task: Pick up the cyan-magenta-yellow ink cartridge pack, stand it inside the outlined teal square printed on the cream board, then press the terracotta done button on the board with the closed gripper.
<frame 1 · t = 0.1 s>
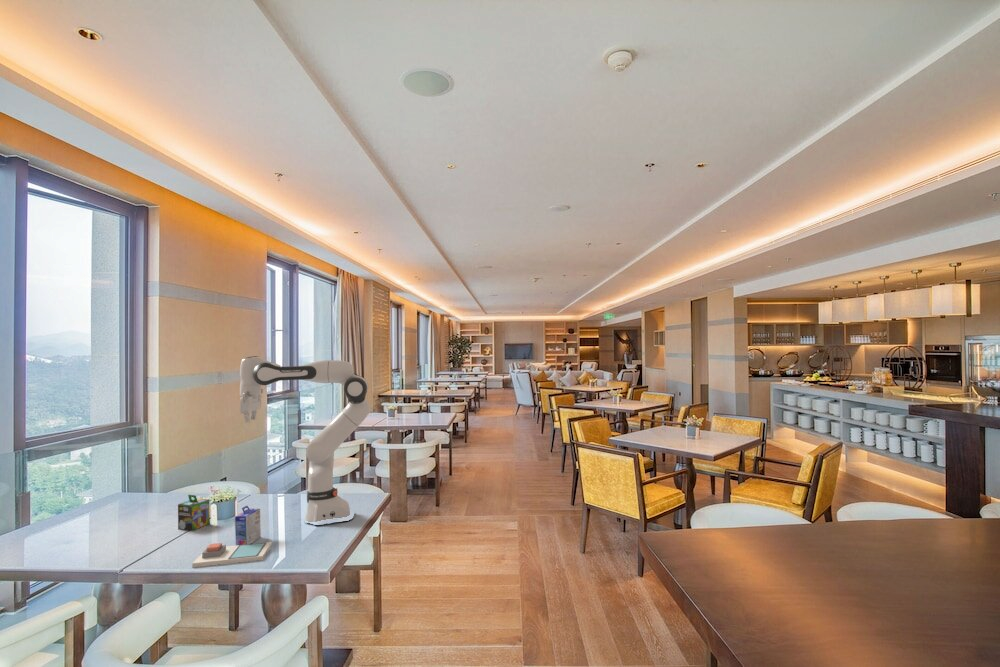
hand: (250, 421, 219), 48 cm above the table, tool pointing down, fingers open, 8 cm apart
done button: (214, 548, 183), point 4 cm above the table, slide at 0.0 cm
picture board: (234, 556, 184), on the table
ink cartridge box: (248, 542, 199), on the table
chalk box: (193, 527, 218), on the table
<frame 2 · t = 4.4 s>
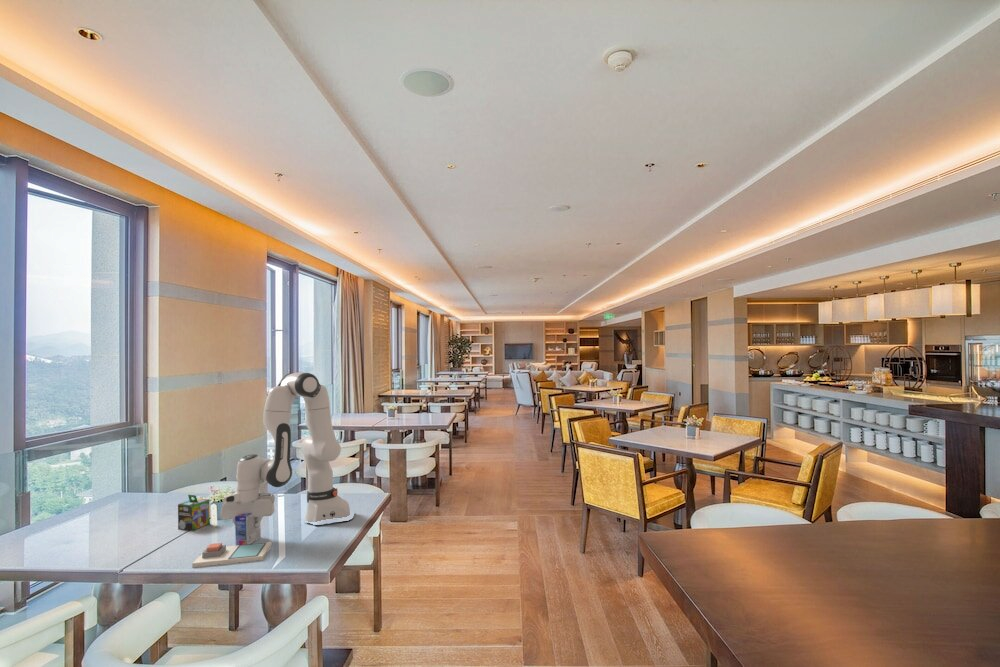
hand: (247, 527, 199), 6 cm above the table, tool pointing down, fingers closed on ink cartridge box, 6 cm apart
ink cartridge box: (248, 542, 199), on the table, touching gripper
everything else where it was.
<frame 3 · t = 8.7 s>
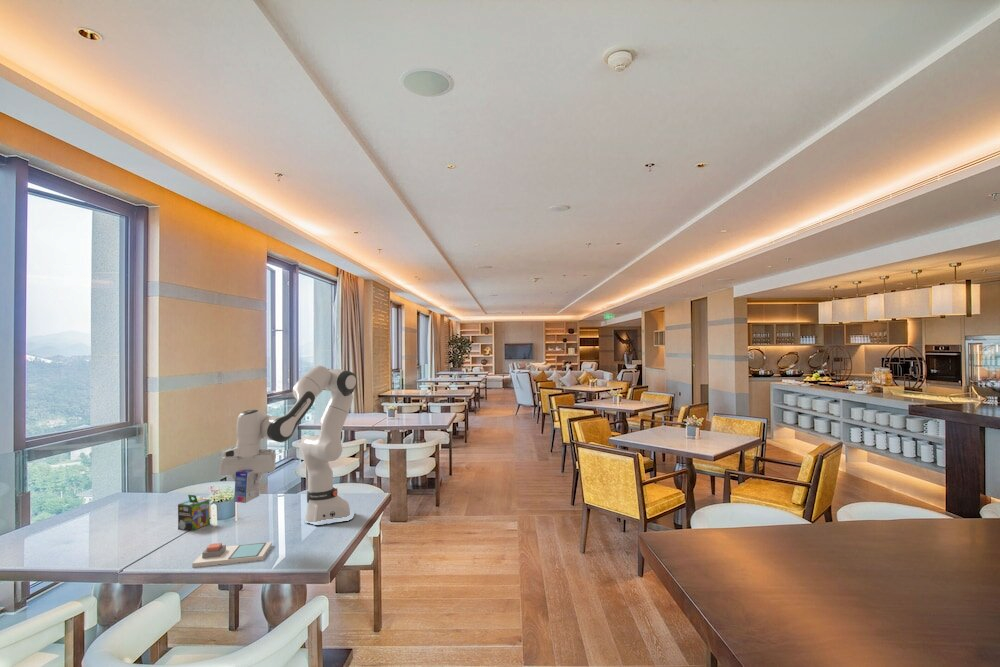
hand: (247, 484, 193), 25 cm above the table, tool pointing down, fingers closed on ink cartridge box, 6 cm apart
ink cartridge box: (246, 499, 193), point 19 cm above the table, touching gripper
everything else where it was.
when the fingers open (8 cm above the table, at t = 13.0 s): ink cartridge box stays where it is, resting on picture board.
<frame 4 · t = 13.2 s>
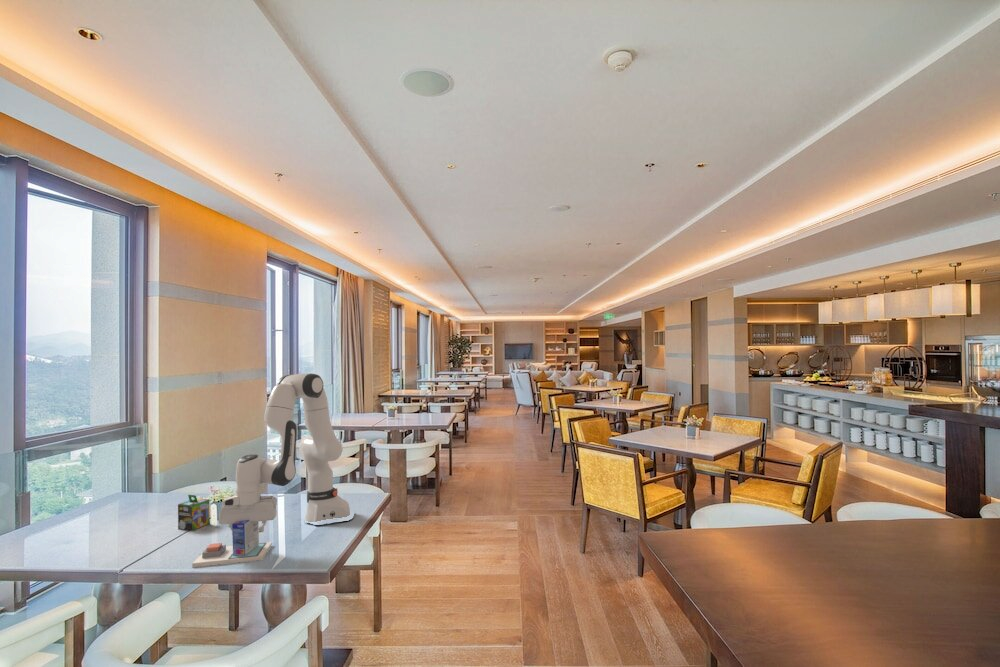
hand: (248, 533, 186), 8 cm above the table, tool pointing down, fingers open, 8 cm apart
ink cartridge box: (245, 550, 186), point 1 cm above the table, touching gripper, picture board
everything else where it was.
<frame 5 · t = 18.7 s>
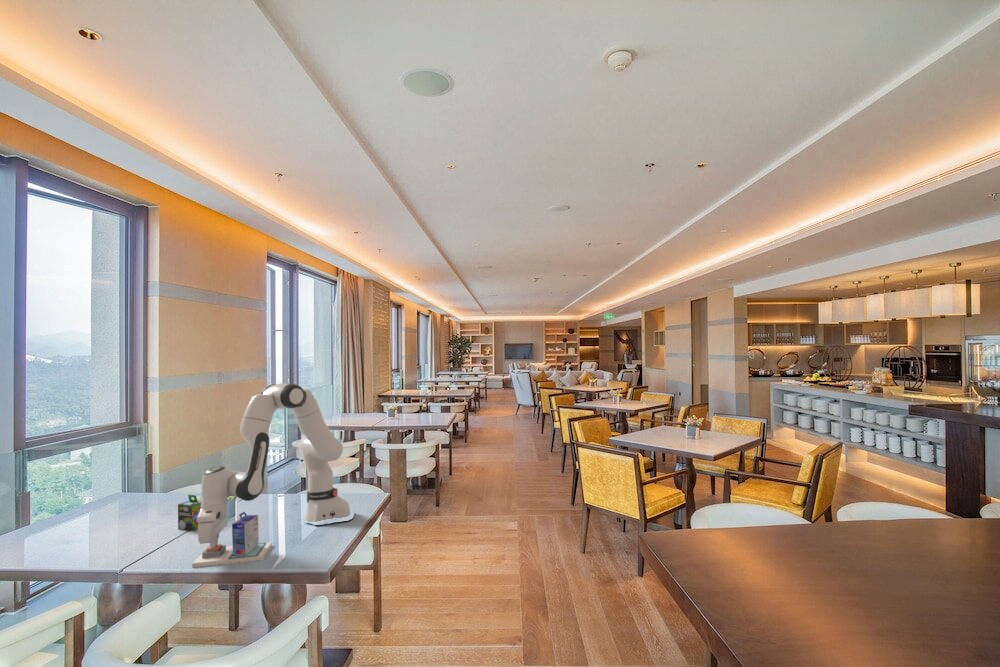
hand: (213, 546, 183), 4 cm above the table, tool pointing down, fingers closed, pressing on done button
done button: (214, 549, 183), point 3 cm above the table, slide at 0.4 cm, touching gripper
ink cartridge box: (245, 550, 186), point 1 cm above the table, touching picture board
everything else where it was.
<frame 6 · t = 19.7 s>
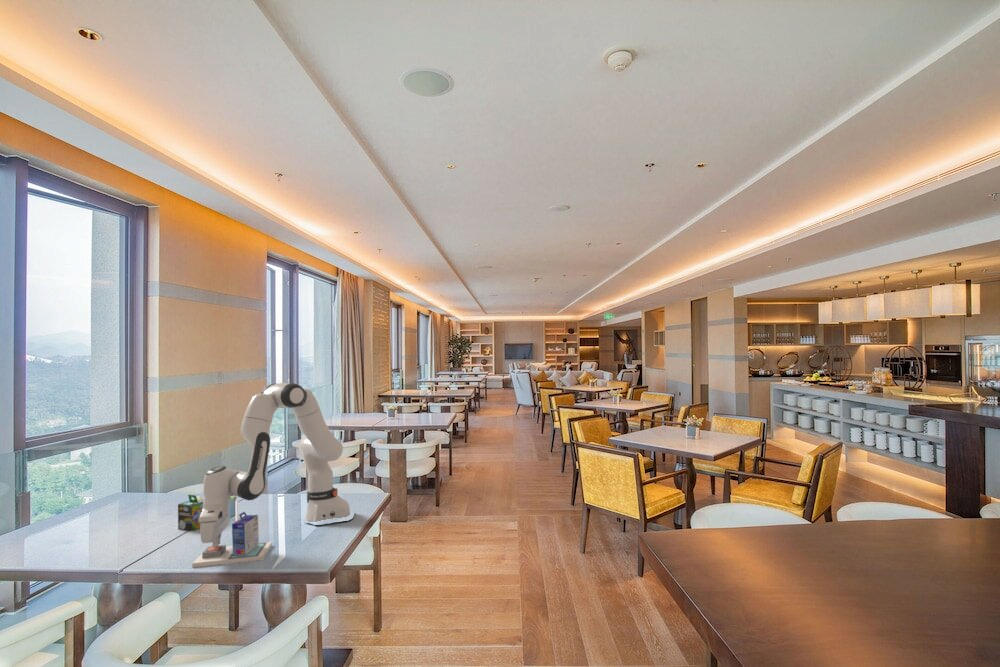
hand: (216, 545, 184), 4 cm above the table, tool pointing down, fingers closed
done button: (214, 550, 183), point 3 cm above the table, slide at 1.1 cm
everything else where it was.
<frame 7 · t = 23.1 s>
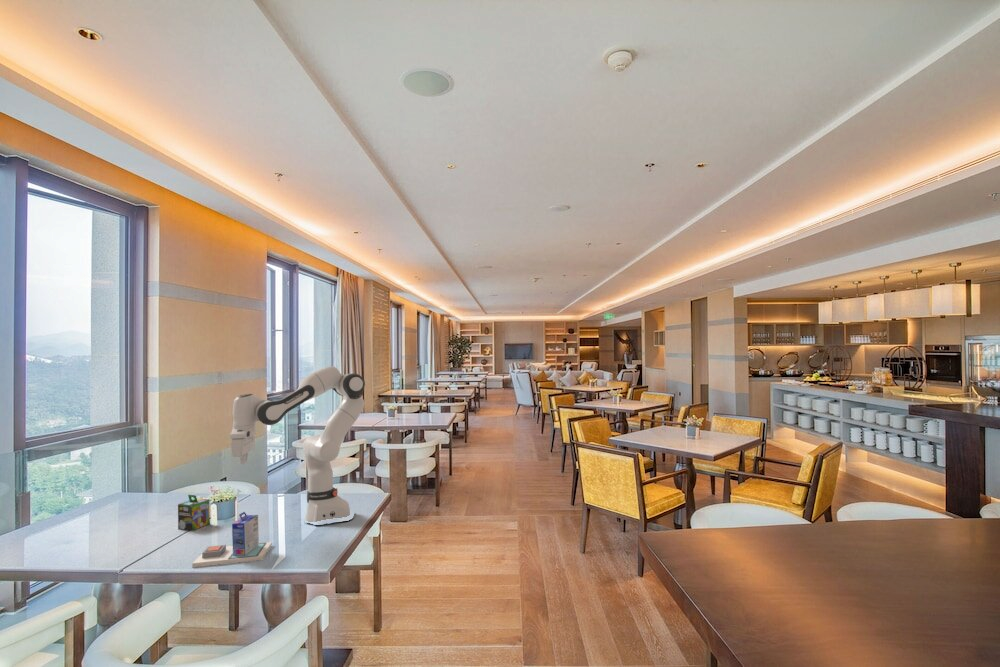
hand: (243, 463, 207), 31 cm above the table, tool pointing down, fingers closed
nothing on the table moved.
at the end: ink cartridge box 1.0 cm from the target spot on the picture board, point 1.4 cm above the picture board's base; ink cartridge box tilted 0°; done button slide at 1.1 cm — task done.
